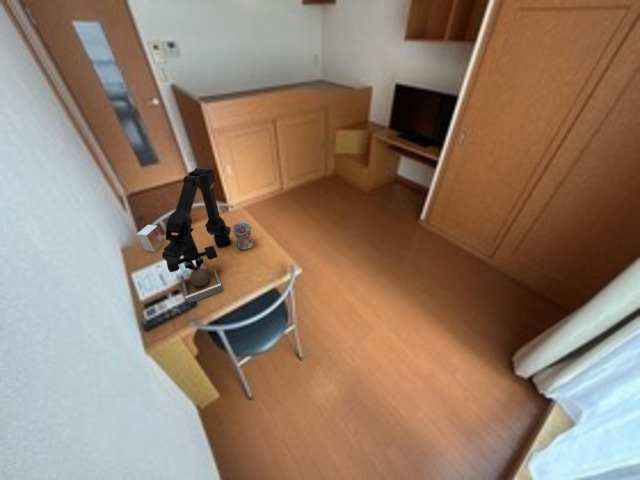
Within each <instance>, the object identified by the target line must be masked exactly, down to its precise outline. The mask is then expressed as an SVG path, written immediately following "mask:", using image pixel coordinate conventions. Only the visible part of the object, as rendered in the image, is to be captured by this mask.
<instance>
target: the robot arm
mask: <svg viewBox="0 0 640 480" xmlns="http://www.w3.org/2000/svg"><path fill="white" fill-rule="evenodd" d="M215 183H216V174H215V172H214V170H212V168H203V167H202V168H201V167H195V168H194V169H193V170H191V171H189V172H188V173H187V175H185V176H184V177H183V185H182V187H181V188H182V189H181V191H180V194H179V197H178V201H177V203H176V204H177V205H176V207H175V210H173V212H172V213H170V215H169V217H168V218H167V222H166V224H165V225H166V228H165V240H166V241H169V243H168V244H167V245H165V247H164V248H163V252H162V254H161V257H162V258H163V260H164V261H166V268H167V270H168V272H169V273H173V272H176V271H179V269H180V266H179V265H181V264H183V265H184V269H189V270H191V271H193V268H194V267H199V268H202V267H201V266H202V265H203V264H204V263H205V261H204V258H207V260H213V259H217V258H218V254H217V251H216V249H215V246H216V247H217V248H218V249H221V248H224V247H227V246H230V245H232V242H231V239H230V235H231V232H232V227H230V226H227V224H226V222H225V220H224V219H223V218H222V217H221V216H220V213H219V209H218V204H217V203H218V202H217V199H216V195H215V191H214V186H215ZM198 189H199V190H200V191H201V195H202V196H201V197H202V198H203V199H202V200H203V203H204V207H205V211H206V215H207V221H206V223H205V225H204V226H205V228H206V232H207V233H208V234H209V236H213V241H214V243H215V246H214V245H209V246H206V247H204V248H203V249H204V251H199V250H198V247H197V244H196V243H195V240H194V237H193V234H192V233H193V231H194V228H193V227H192V223H193V219H192V217H191V212H192V209H193V205H194V202H195V198H196V194H197V192H198V191H197V190H198ZM193 261H194V262H195V264H194V262H193Z"/></svg>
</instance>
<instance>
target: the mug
mask: <svg viewBox="0 0 640 480" xmlns="http://www.w3.org/2000/svg"><path fill="white" fill-rule="evenodd" d="M231 232H232V233H233V235H234V237H233V239H232V242H233V244H235V246H236V248H238V249H240V250H244V251H245V250H248V249H249V250H250V249H251V248H252V247H253V246H254V245H255V244H254V240H253V239H252V237H251V236H252V235H251V232H252V225H251V224H250V223H248V222H239V223H236V224H234V225H233V226H232V227H231ZM235 241H236V242H235Z"/></svg>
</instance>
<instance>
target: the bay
mask: <svg viewBox="0 0 640 480" xmlns="http://www.w3.org/2000/svg"><path fill="white" fill-rule="evenodd" d="M211 268H212V270H213V271H212V272H213V273H214V275H215V279H216V281H217V284H215V285H213V286H210V287H208V288H204V289H202V290H199V291H196V292H194V293H191V294H189V290H188V288H187V287H188V286H187V283H186V280H185V277H184V276H183V275H180V279H181V283H182V287H183V293H184V297H185V300H186V302H187V304H188V303H190V304H192V303H191V302H193V303H196V302H198V301H201V300H204V299H205V298H207V297H208V298H209V297H211V296H214V295H216V294H219V293H221V292H224V289H223V286H222V283H221V281H220V278H219V276H218V273H217V270H216V267H215V266H214V264H212V265H211ZM194 301H195V302H194Z"/></svg>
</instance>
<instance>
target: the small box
mask: <svg viewBox="0 0 640 480" xmlns="http://www.w3.org/2000/svg"><path fill="white" fill-rule="evenodd" d="M136 237H137V238H138V240H139V242H140V244H141V246H142V248H143V249H144V251H145V252H152V253H156V252H157V251H158V250H159V249H160V248H161V247H162V246H163V245H164V244H165V243H166V241H165V238H164V236H163V234H162V232H161V230H160V228H159V226H158V225H154V224H147V225H146V226H145V227H143V228H141V229H140V231H138V232H137V233H136Z"/></svg>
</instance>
